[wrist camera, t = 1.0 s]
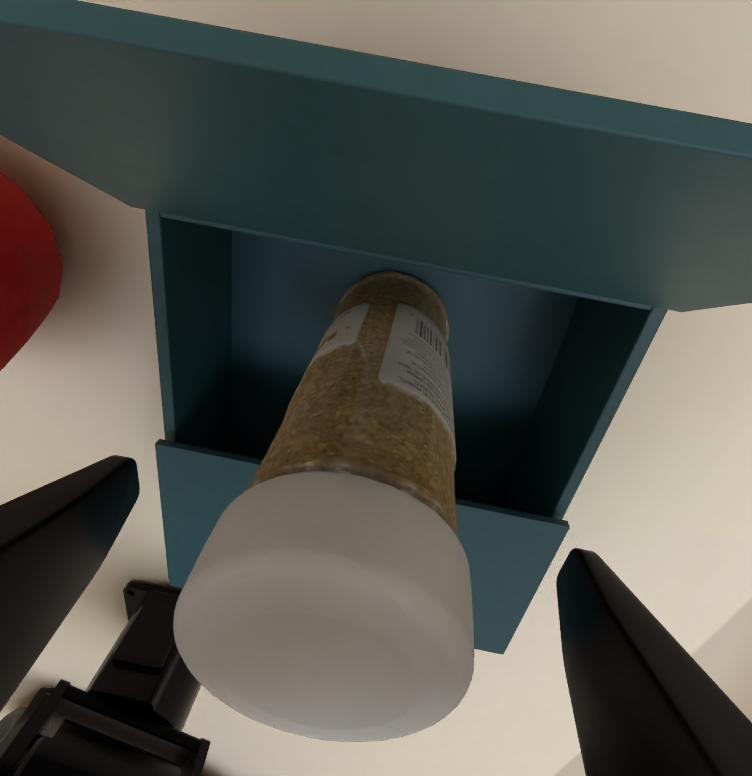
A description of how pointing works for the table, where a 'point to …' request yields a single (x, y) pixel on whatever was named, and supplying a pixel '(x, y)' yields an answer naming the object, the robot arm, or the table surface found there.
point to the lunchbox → (468, 379)
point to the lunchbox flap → (384, 153)
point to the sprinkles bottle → (345, 540)
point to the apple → (24, 269)
